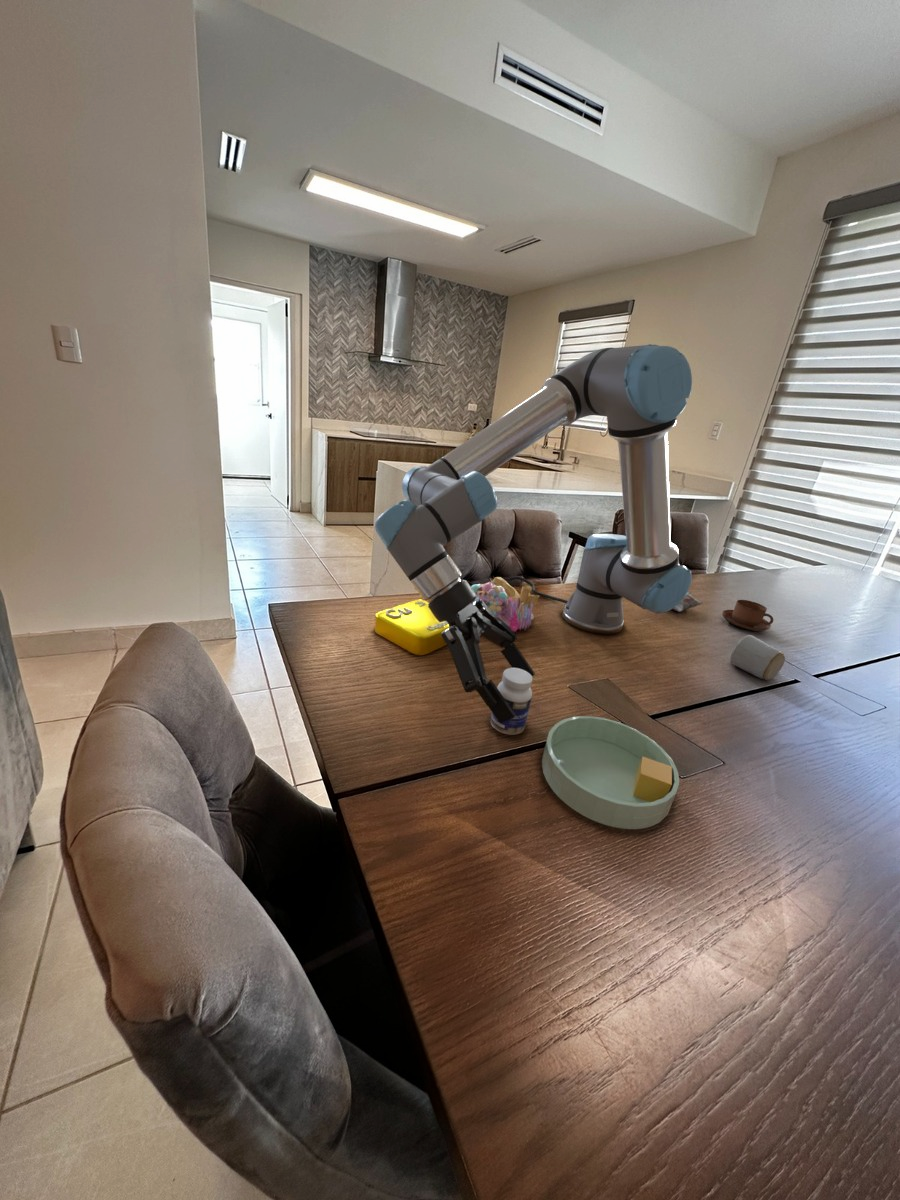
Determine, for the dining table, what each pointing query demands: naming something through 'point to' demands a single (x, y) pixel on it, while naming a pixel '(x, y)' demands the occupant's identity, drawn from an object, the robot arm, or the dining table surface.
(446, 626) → the element tile
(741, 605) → the cup and saucer
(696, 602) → the packaged food
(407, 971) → the dining table surface
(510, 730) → the pill bottle
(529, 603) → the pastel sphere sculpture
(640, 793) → the block
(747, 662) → the ceramic mug
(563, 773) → the bowl
